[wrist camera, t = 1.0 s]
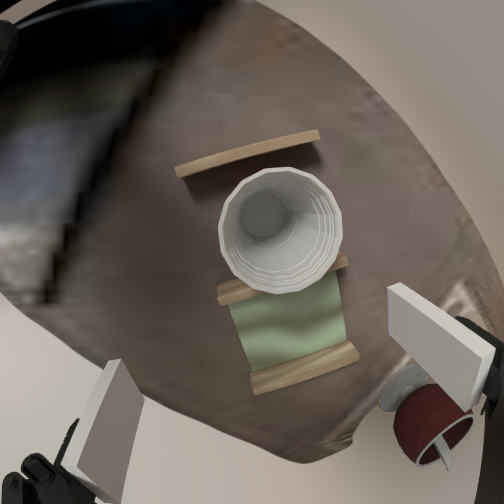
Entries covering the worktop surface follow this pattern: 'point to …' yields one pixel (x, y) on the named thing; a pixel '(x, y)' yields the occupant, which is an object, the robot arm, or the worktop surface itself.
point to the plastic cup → (280, 230)
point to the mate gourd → (424, 416)
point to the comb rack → (284, 304)
